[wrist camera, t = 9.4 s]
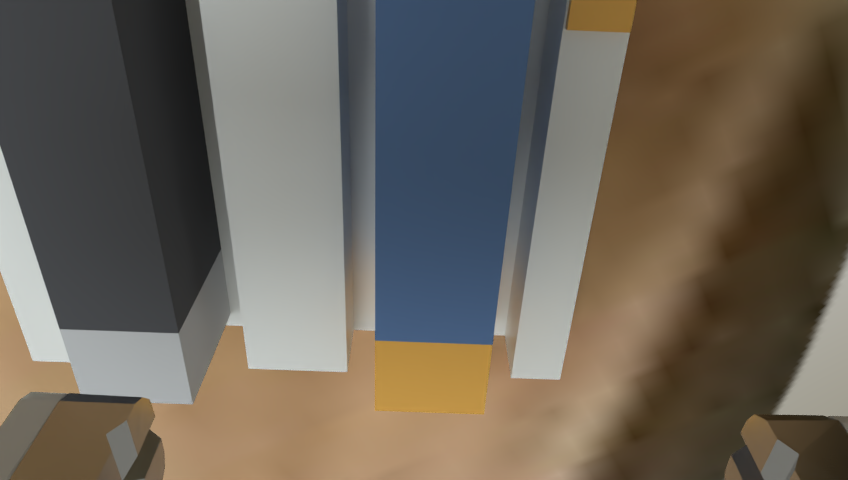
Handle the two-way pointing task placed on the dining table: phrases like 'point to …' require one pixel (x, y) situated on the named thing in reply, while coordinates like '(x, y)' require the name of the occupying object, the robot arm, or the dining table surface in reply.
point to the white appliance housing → (363, 178)
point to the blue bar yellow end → (443, 193)
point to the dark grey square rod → (116, 188)
